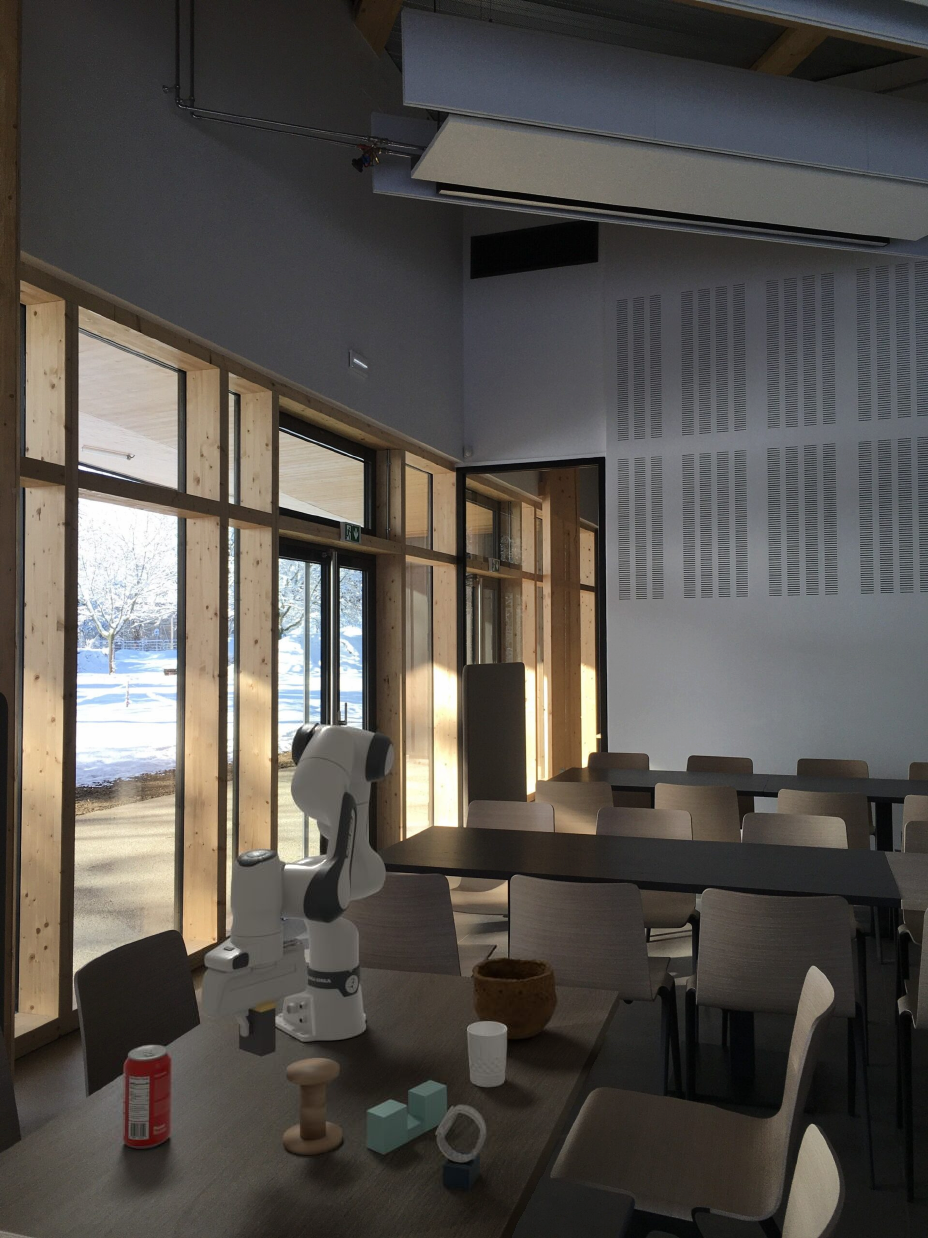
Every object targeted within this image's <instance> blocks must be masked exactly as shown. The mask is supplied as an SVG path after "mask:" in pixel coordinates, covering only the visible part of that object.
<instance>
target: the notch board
mask: <svg viewBox="0 0 928 1238" xmlns="http://www.w3.org/2000/svg"><path fill="white" fill-rule="evenodd" d="M447 1089H448V1087H447V1085H446V1084H443V1083H440V1082H436V1081H434V1080H431V1079H429V1080H427V1081H426V1082H423V1083H421V1084H419V1085H417V1086H415V1087H412V1088H411V1089H408V1091H407V1092H408V1093H407V1094H408V1095H407V1098H408V1100H407V1102H408V1105H407V1104H405V1103H402V1102H399V1101H396V1100H393V1099H388V1100H385V1101H384V1102H381V1103H380V1104H377V1105H376V1106H374V1107H372V1108H369V1109H367V1110H366V1148H367V1149H369V1150H372V1151H374V1152H377V1153H378V1154H381V1155H386V1154H388V1153H390V1152H392V1151H393V1150H396V1149H397V1148H399V1147H401V1146H403V1145H405V1144H407V1143H408V1142H410V1141H413V1139H416V1138H417V1137H420V1136H422V1135H423V1134H425V1133H426V1132H429V1131H431V1130H432V1129H434V1128H435V1127H438V1126H439V1124H440V1123H441V1121H442V1119H443V1118H444V1116H445V1115H446V1113H447V1112H448V1097H447V1096H448V1093H447V1091H448V1090H447Z"/></svg>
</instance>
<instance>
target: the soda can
mask: <svg viewBox="0 0 928 1238" xmlns="http://www.w3.org/2000/svg"><path fill="white" fill-rule="evenodd" d="M168 1050H169V1049H168V1048H167V1047H166V1046H165V1045H161V1044H147V1045H142V1046H138V1047H135V1048H133V1049H132V1050H130V1051H129V1052H128V1053H127V1058H126V1060H125V1061H124V1063H123V1082H122V1083H123V1084H122V1086H123V1087H122V1088H123V1090H122V1091H123V1093H122V1095H123V1096H122V1100H123V1101H122V1105H123V1106H122V1142H123V1143H124V1144H125V1145H126V1146H127V1147H131V1148H133V1149H136V1150H137V1149H138V1150H147V1149H151V1148H155V1147H157V1146H159V1145H161V1144H162V1143H164V1142H165V1141H166V1140H168V1138H169V1137H170V1136H171V1133H172V1071H173V1069H172V1067H173V1066H172V1061H173V1060H172V1057H171V1055H170V1054H169V1052H168Z"/></svg>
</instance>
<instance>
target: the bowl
mask: <svg viewBox="0 0 928 1238" xmlns="http://www.w3.org/2000/svg"><path fill="white" fill-rule="evenodd" d="M471 972H472V978H473V980H472V982H473V992H472V1005H473V1008H474V1011H475V1013H476V1015H477V1018H478V1019H479V1022H483V1021H491V1022H498V1023H501V1024H504V1025H505V1026H506V1027H507V1040H523V1039H529V1038H531V1037H534V1036H536V1035H538V1034H539V1033H541V1032H542V1031H543V1030H544V1029H545V1028H546V1026H547V1025H548V1024H549V1023H550V1021H551V1020H552V1017H553V1016H554V1013H555V1010H556V1007H557V1005H558V1003H559V1002H558V1001H559V1000H558V997H557V993H556V979H555V978H556V977H555V972H554V968H553V967H552V965H551V964H550V963H548V961H544V960H538V959H533V958H532V959H521V958H511V957H509V958H508V957H506V956H504V957H496V958H494V957H493V958H490V959H487V960H483V961H479V962H478V963H477V964H475V965H474V966H473V967H472V970H471Z"/></svg>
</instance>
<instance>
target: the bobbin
mask: <svg viewBox="0 0 928 1238" xmlns="http://www.w3.org/2000/svg"><path fill="white" fill-rule="evenodd" d="M285 1073H286V1075H285V1076H286V1079H287V1080H288V1081H289V1082H290V1083H292V1084H295V1085H299V1123H298V1124H297V1123H296V1124H294V1125H293V1126H291V1127H289V1128H288V1129H286V1131H284V1133H283V1136H282V1143H283V1147H284V1148H285V1149H286V1151H288V1152H291V1153H294V1154H297V1155H303V1156H305V1155H307V1156H308V1155H309V1156H310V1155H313V1156H314V1155H320V1154H323V1153H328V1152H330V1151H332V1150H335V1149H336V1148H338V1147H339V1146H340V1145H341V1144H342V1141H343V1130H342V1128H341V1127H340V1125H338V1124H336V1123H333V1122H330V1121H327V1120H326V1119H327V1084H328V1083H330V1082H332V1081H334V1080H335V1079H337V1078H338V1077H339V1076H340V1064H339V1063H338V1062H337V1061H335V1060H333V1059H330V1058H324V1057H323V1058H322V1057H321V1058H320V1057H312V1058H305V1059H301V1060H297V1061H295V1062H292V1063H291V1064H289V1065H287V1068H286V1072H285Z"/></svg>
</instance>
